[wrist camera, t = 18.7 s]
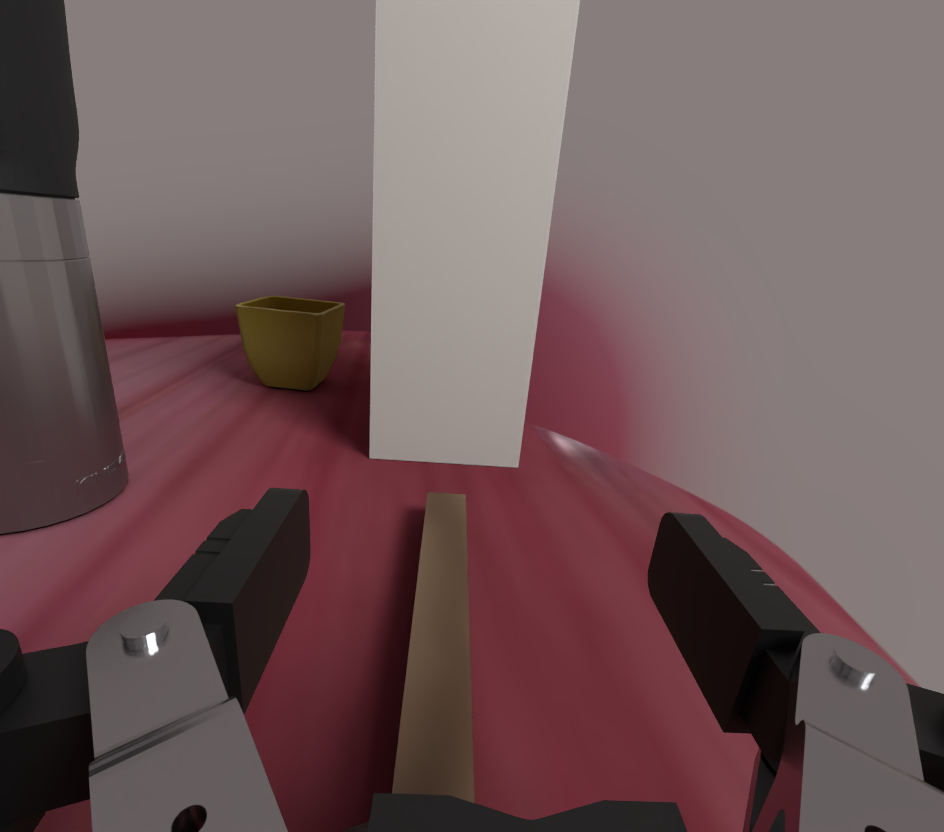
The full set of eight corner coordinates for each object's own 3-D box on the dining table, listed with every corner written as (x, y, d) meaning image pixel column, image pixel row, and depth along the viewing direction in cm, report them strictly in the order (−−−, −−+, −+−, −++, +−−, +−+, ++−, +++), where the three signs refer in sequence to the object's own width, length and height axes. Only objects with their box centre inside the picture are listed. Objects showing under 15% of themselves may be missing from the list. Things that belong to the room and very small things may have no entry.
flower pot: (346, 377, 59) (346, 302, 56) (323, 399, 51) (321, 313, 48) (274, 370, 59) (270, 294, 56) (239, 391, 51) (232, 304, 48)
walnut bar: (362, 1076, 11) (364, 1022, 10) (425, 524, 31) (427, 491, 31) (470, 1076, 11) (480, 1022, 10) (462, 527, 32) (465, 494, 31)
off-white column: (369, 458, 39) (376, -49, 28) (388, 408, 50) (399, 32, 39) (518, 467, 40) (583, -23, 29) (503, 416, 51) (546, 50, 40)
